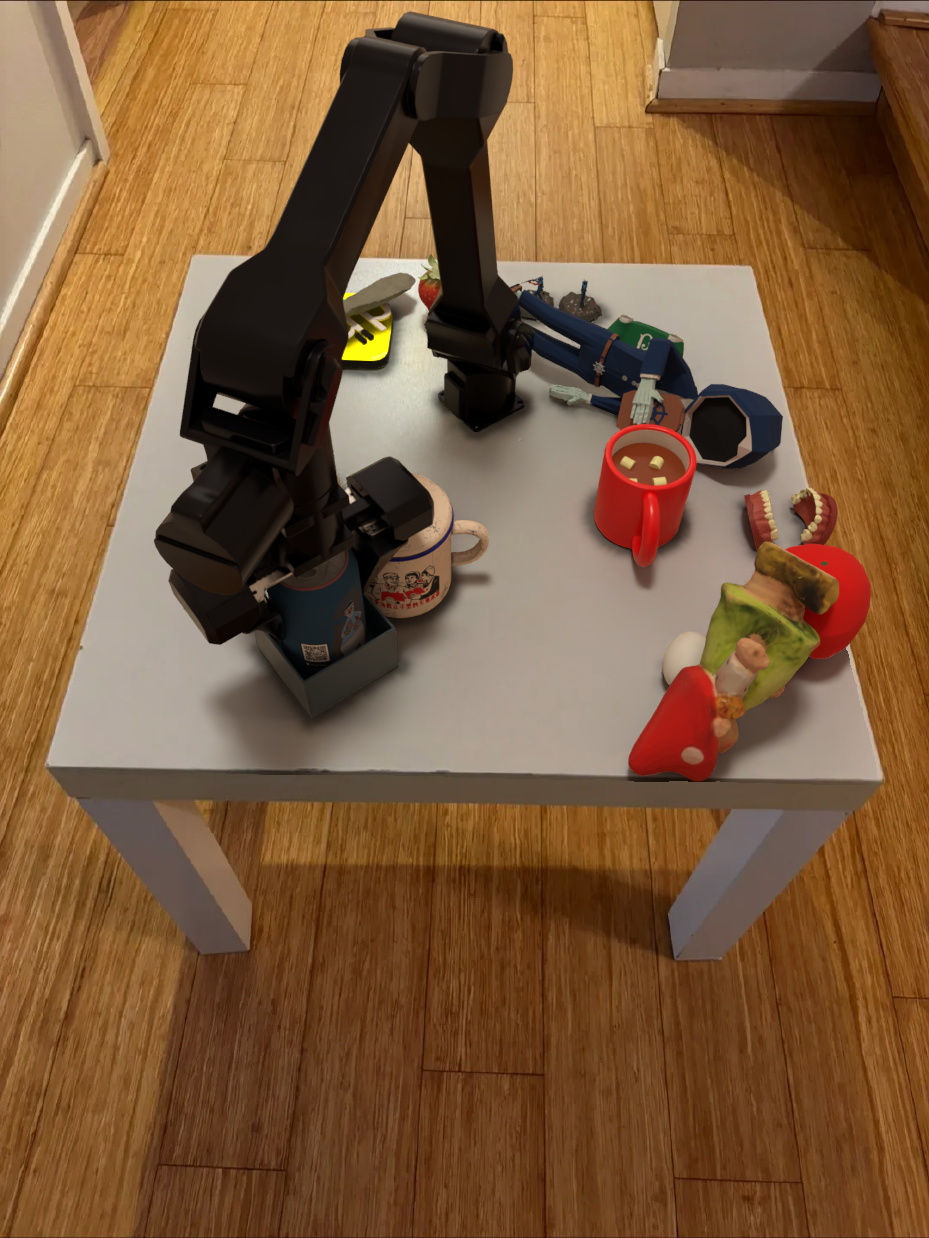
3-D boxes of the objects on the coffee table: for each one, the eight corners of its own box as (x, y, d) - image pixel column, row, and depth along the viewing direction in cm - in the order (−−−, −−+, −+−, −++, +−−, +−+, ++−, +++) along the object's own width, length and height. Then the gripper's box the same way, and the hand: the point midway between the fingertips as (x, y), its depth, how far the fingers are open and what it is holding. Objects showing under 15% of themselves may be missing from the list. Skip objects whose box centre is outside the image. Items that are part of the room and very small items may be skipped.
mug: (599, 586, 85) (611, 527, 79) (591, 483, 92) (601, 422, 86) (690, 587, 85) (709, 529, 79) (674, 484, 92) (691, 423, 86)
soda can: (289, 611, 82) (266, 518, 72) (372, 613, 82) (360, 520, 72) (278, 682, 78) (252, 593, 68) (364, 684, 78) (351, 596, 68)
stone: (425, 297, 105) (399, 284, 108) (422, 279, 104) (397, 266, 107) (322, 335, 100) (299, 320, 103) (319, 316, 99) (295, 302, 102)
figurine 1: (473, 275, 89) (761, 434, 80) (550, 226, 96) (824, 367, 87) (459, 378, 98) (716, 531, 89) (530, 326, 105) (776, 464, 96)
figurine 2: (872, 601, 73) (723, 817, 77) (775, 546, 78) (639, 752, 81) (841, 574, 64) (673, 820, 68) (733, 513, 68) (581, 746, 72)
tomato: (814, 619, 72) (806, 697, 78) (910, 558, 75) (896, 638, 81) (724, 562, 78) (722, 638, 84) (815, 508, 82) (809, 585, 87)
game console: (214, 365, 101) (211, 354, 100) (231, 297, 107) (229, 286, 106) (388, 369, 101) (388, 358, 100) (395, 301, 107) (395, 289, 106)
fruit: (425, 305, 107) (423, 240, 100) (473, 311, 106) (474, 246, 100) (414, 335, 104) (411, 270, 97) (463, 342, 103) (464, 277, 97)
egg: (715, 653, 82) (726, 627, 78) (695, 711, 78) (706, 686, 75) (671, 638, 82) (679, 611, 79) (650, 694, 79) (658, 669, 76)
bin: (343, 599, 84) (336, 560, 80) (398, 665, 81) (395, 628, 76) (258, 648, 82) (246, 610, 77) (311, 719, 78) (303, 683, 73)
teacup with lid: (348, 624, 83) (334, 536, 73) (351, 540, 88) (338, 448, 79) (489, 619, 83) (494, 532, 74) (484, 537, 89) (487, 445, 79)
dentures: (744, 474, 87) (833, 476, 88) (732, 504, 91) (818, 505, 91) (754, 524, 84) (846, 525, 85) (741, 553, 88) (829, 554, 88)
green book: (671, 399, 102) (696, 344, 100) (664, 394, 98) (690, 337, 97) (592, 367, 104) (616, 313, 103) (583, 361, 101) (607, 305, 99)
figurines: (603, 295, 108) (609, 265, 104) (601, 328, 106) (607, 298, 102) (512, 287, 108) (515, 256, 104) (509, 319, 106) (512, 289, 102)
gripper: (345, 350, 70) (362, 496, 83) (103, 464, 64) (163, 604, 76) (436, 440, 65) (440, 581, 78) (184, 574, 59) (233, 703, 71)
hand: (319, 613), depth 76 cm, fingers closed on soda can, 7 cm apart
